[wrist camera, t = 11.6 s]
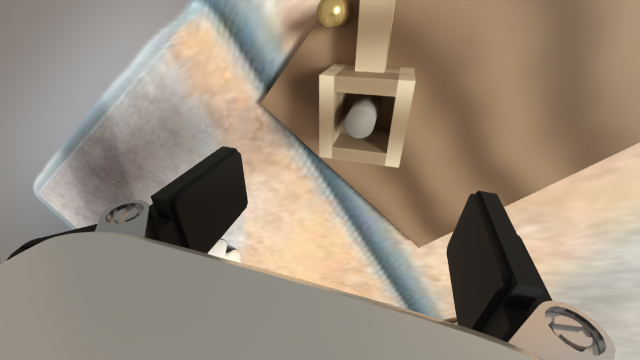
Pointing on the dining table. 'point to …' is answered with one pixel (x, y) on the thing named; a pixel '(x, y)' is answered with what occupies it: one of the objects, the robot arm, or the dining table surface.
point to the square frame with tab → (366, 92)
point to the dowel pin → (334, 12)
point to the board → (478, 100)
